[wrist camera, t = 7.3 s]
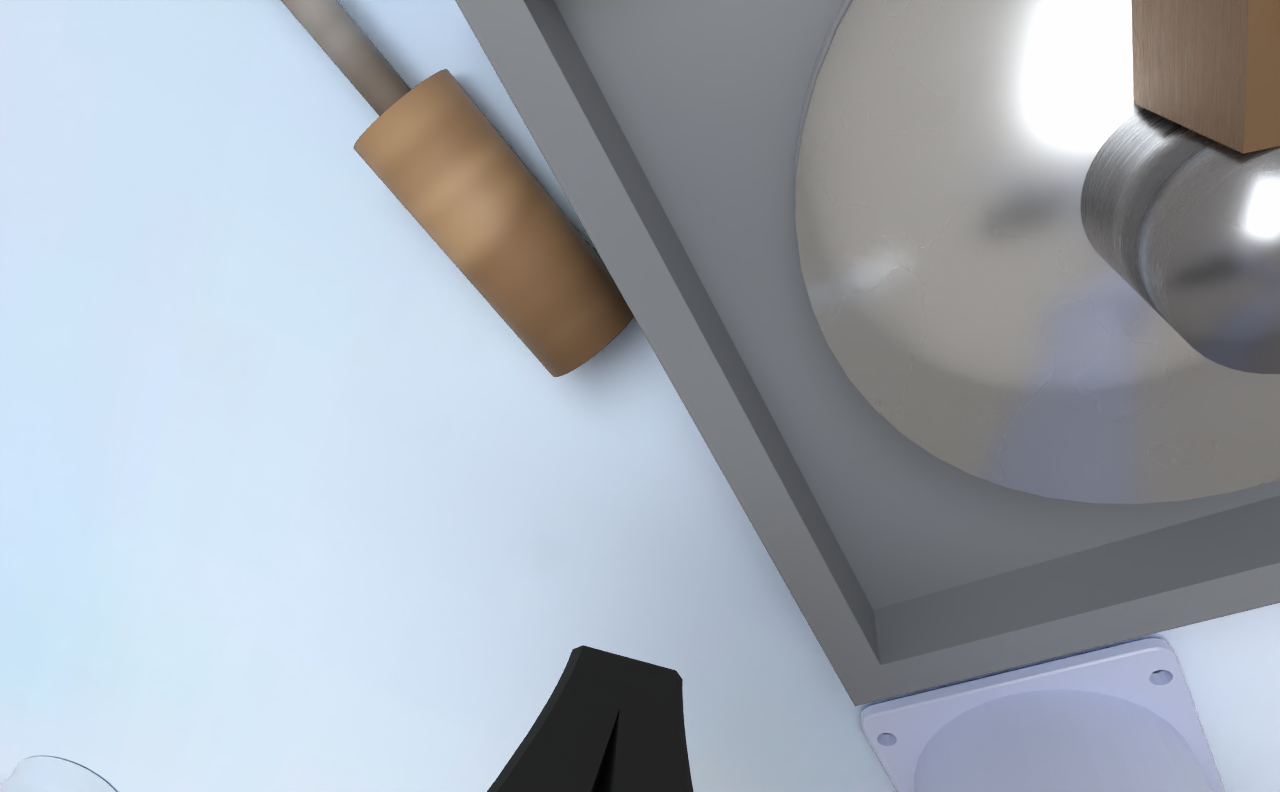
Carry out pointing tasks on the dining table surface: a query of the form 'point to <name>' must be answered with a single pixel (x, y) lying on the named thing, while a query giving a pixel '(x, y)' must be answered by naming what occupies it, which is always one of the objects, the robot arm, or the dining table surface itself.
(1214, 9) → the dial
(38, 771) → the cup with straw
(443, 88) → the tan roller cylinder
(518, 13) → the tray
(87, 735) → the dining table surface
